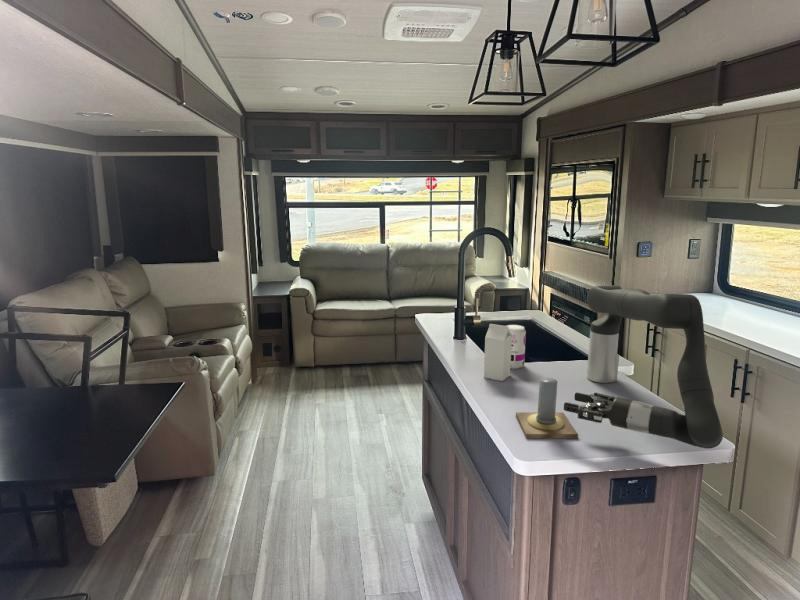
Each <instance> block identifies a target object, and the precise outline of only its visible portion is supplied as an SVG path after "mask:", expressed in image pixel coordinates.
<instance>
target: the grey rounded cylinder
mask: <svg viewBox="0 0 800 600" xmlns="http://www.w3.org/2000/svg"><path fill="white" fill-rule="evenodd" d="M538 385H539V386H538V398H537V399H538V402H537V412H538V415H537V416H536V421H537V422H538V423H540V424H544V425H553V424H555V423H556V417H555V412H557V411H556V407H557V396H558V395H557V394H558V392H557V391H558V380H557V379H556V378H553V377H541V378H540V379H539V381H538Z"/></svg>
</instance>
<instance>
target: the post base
mask: <svg viewBox="0 0 800 600" xmlns="http://www.w3.org/2000/svg"><path fill="white" fill-rule="evenodd" d="M537 415H538V411H536V412H533V411H532V412H530V411H529V412H527V411H526V412H525V411H523V412H522V411H521V412H520V411H519V412H518V411H517V412H515V418H516V420H517V422H518V424H519V427H520V428H521V429H520V430H522V433H523V435H524V437H525V438H526V439H579V433H578V432H577V431H576V429H575V428H574V426H573V425H572V423H571V422H570V420H569V419H568V417H567V415H566V414H565V413H564V412H561V411H560V412H557V411H556V412H555V417H556V423H555V424H553V425H544V424H540V423H538V422H537V421H536V416H537Z"/></svg>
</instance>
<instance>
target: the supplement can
mask: <svg viewBox="0 0 800 600" xmlns="http://www.w3.org/2000/svg"><path fill="white" fill-rule="evenodd" d="M506 326H509V331H510V333H511V335H512V343H511V366H510V369H513V370H515V369H516V370H517V369H521V368H523V367H524V366H525V360H526V359H525V357H526V356H525V355H526V341H527V340H526V338H527V331H526V329H525V326H523V325H520V324H507V325H506Z"/></svg>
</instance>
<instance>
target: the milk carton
mask: <svg viewBox="0 0 800 600" xmlns="http://www.w3.org/2000/svg"><path fill="white" fill-rule="evenodd" d="M488 325H489V326H488V329H487V332H486V335H485V337H484V358H483V359H484V365H483V366H484V367H483V378H484V379H489V378H490V379H489V380H493V381H494V380H495V381H498V382H499V381H500V382H504V381H505V380H506V379H507V378H508V377H510V375H511V368H510V366H511V343H512V335H511V333H510V331H509V326H507V325H501V324H495V323H494V324H493V323H489V324H488Z"/></svg>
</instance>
